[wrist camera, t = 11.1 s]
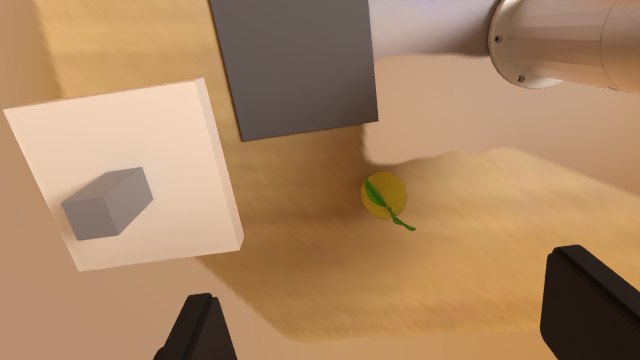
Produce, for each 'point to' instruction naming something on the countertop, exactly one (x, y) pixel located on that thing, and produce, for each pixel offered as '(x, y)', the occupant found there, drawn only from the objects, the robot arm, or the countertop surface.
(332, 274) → the countertop surface
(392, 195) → the lemon
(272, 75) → the mat
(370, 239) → the countertop surface
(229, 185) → the lid
